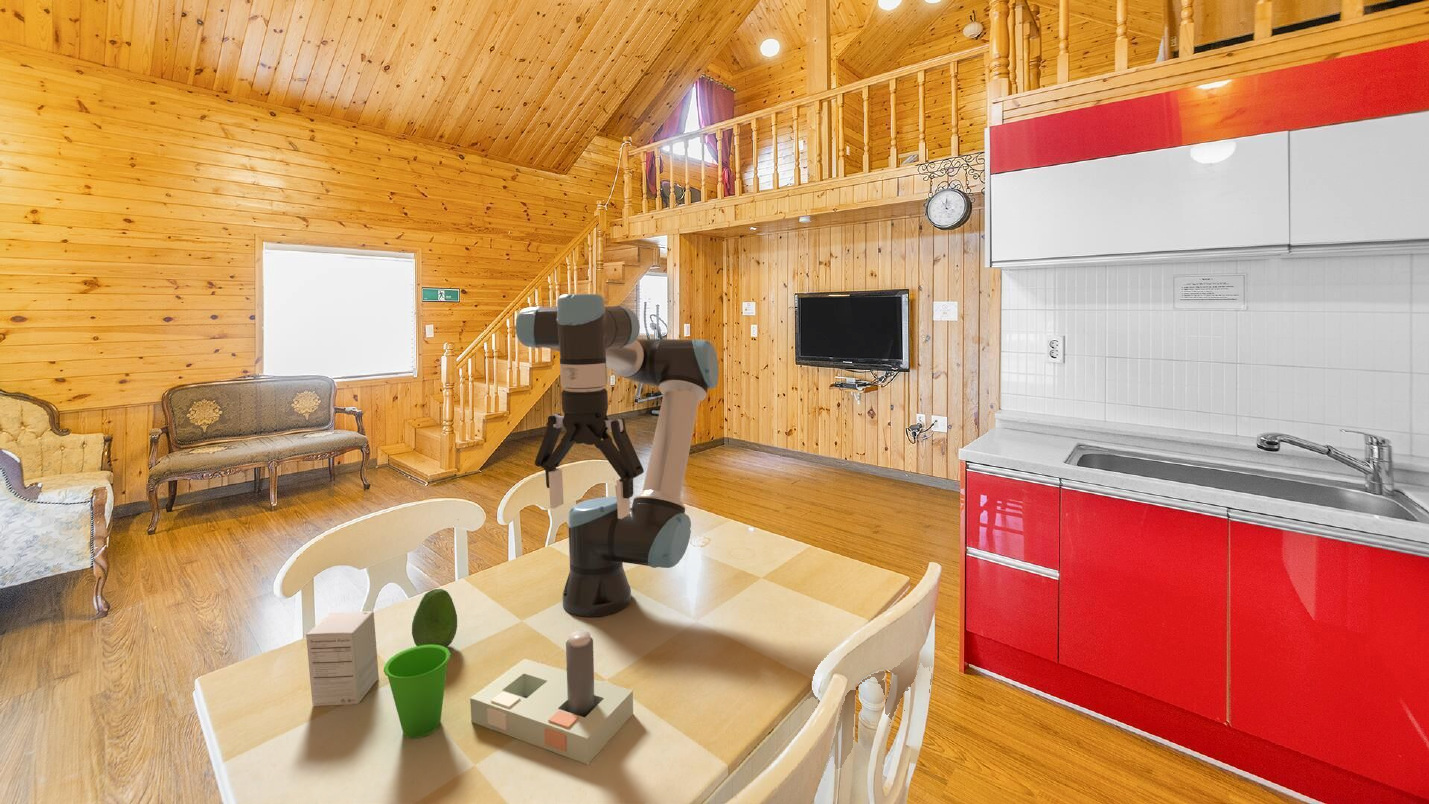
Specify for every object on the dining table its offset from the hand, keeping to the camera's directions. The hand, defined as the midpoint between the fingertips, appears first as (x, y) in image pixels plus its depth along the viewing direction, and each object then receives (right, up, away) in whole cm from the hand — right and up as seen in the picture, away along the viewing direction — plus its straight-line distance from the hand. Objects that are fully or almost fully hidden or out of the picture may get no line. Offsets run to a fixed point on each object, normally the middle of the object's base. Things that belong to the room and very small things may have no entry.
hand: (589, 511), depth 100 cm
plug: (+1, -31, -10) cm, 33 cm away
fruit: (-32, -29, +11) cm, 44 cm away
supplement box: (-41, -30, -2) cm, 51 cm away
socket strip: (-4, -31, -8) cm, 32 cm away
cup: (-24, -32, -10) cm, 41 cm away
